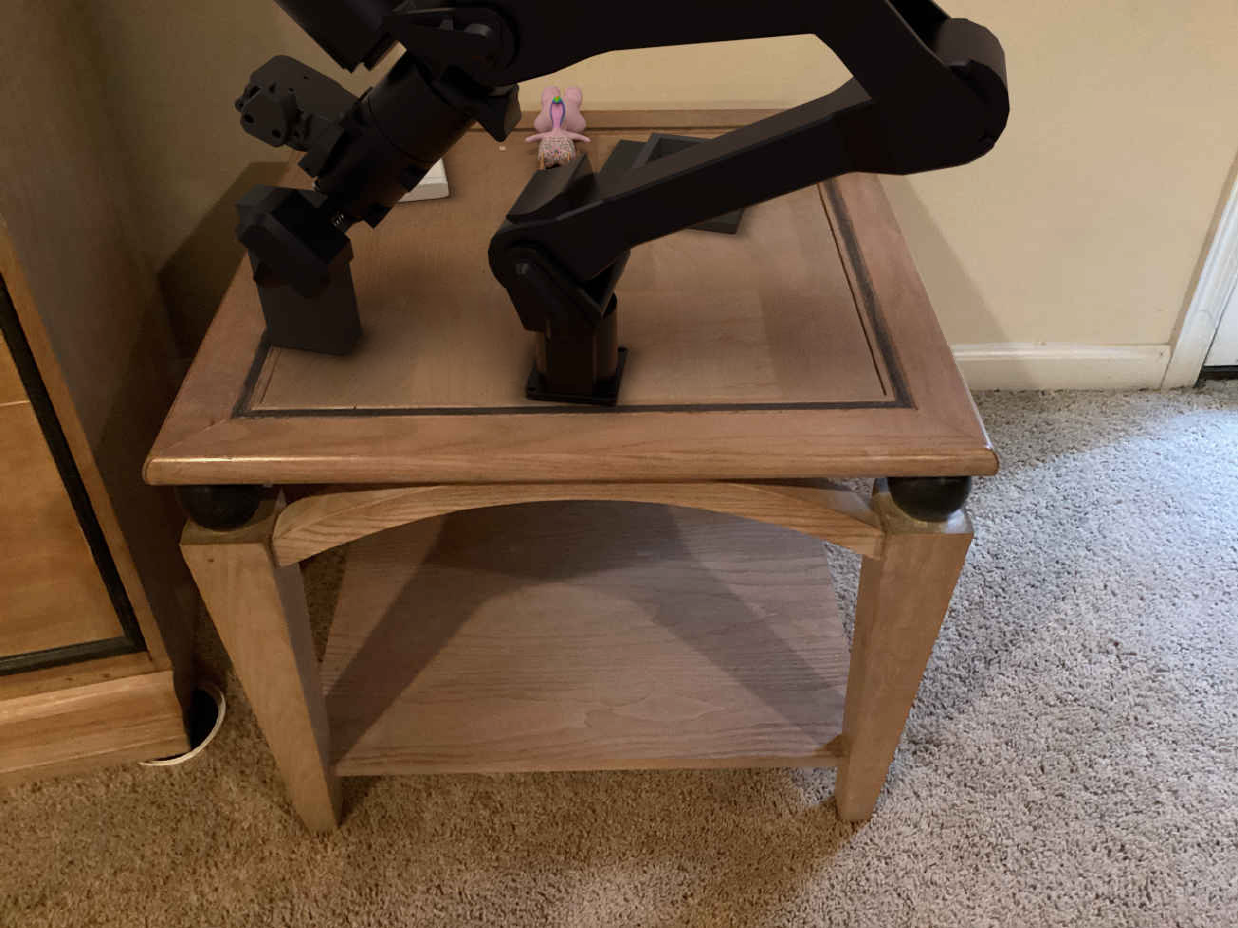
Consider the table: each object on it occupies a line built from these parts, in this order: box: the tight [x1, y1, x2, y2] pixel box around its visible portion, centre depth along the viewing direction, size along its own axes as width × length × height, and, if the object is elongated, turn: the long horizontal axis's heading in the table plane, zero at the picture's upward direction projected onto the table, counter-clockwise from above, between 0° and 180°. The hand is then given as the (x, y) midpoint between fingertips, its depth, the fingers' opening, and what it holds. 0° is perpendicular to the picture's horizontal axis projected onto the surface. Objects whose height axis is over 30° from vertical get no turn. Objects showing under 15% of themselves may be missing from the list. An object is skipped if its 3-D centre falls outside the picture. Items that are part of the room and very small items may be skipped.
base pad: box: [598, 131, 745, 235], centre depth 97 cm, size 14×14×3 cm
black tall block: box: [234, 183, 363, 357], centre depth 76 cm, size 3×6×12 cm, turn 77°
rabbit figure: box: [524, 85, 591, 169], centre depth 104 cm, size 6×6×15 cm
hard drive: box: [397, 157, 450, 203], centre depth 100 cm, size 2×8×12 cm
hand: (281, 259), depth 76 cm, fingers open, 6 cm apart
